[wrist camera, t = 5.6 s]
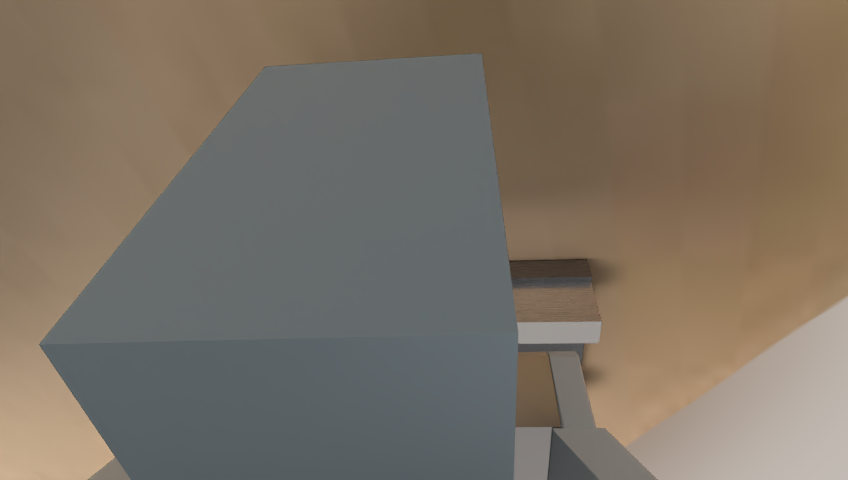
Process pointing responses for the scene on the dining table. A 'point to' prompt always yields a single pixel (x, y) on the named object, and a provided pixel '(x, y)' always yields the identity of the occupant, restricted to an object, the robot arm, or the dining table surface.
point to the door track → (554, 305)
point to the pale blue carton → (313, 290)
